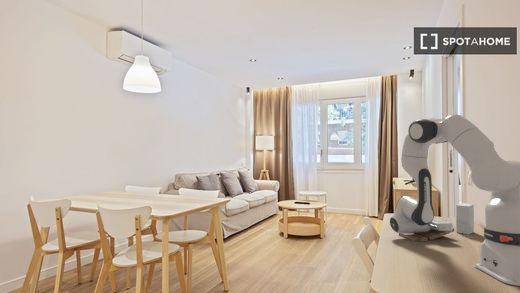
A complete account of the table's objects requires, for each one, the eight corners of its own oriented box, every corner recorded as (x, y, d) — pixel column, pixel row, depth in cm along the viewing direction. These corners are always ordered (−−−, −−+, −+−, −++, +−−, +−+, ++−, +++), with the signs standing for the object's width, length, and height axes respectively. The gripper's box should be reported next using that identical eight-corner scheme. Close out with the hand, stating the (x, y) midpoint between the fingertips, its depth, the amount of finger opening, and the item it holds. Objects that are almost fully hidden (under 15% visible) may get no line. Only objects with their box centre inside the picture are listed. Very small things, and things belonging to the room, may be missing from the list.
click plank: (429, 237, 146) (453, 228, 149) (412, 231, 158) (434, 222, 161) (430, 240, 146) (454, 231, 149) (413, 234, 158) (435, 225, 161)
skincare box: (461, 230, 166) (461, 202, 167) (474, 232, 161) (474, 204, 162) (456, 232, 161) (455, 204, 161) (469, 235, 156) (468, 205, 157)
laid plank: (415, 241, 145) (414, 238, 145) (398, 235, 156) (398, 231, 156) (427, 240, 146) (427, 237, 146) (410, 234, 158) (410, 231, 158)
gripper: (437, 221, 142) (462, 219, 145) (407, 213, 162) (430, 211, 165) (437, 234, 142) (462, 233, 145) (408, 225, 162) (430, 223, 165)
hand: (445, 221), depth 155 cm, fingers closed
